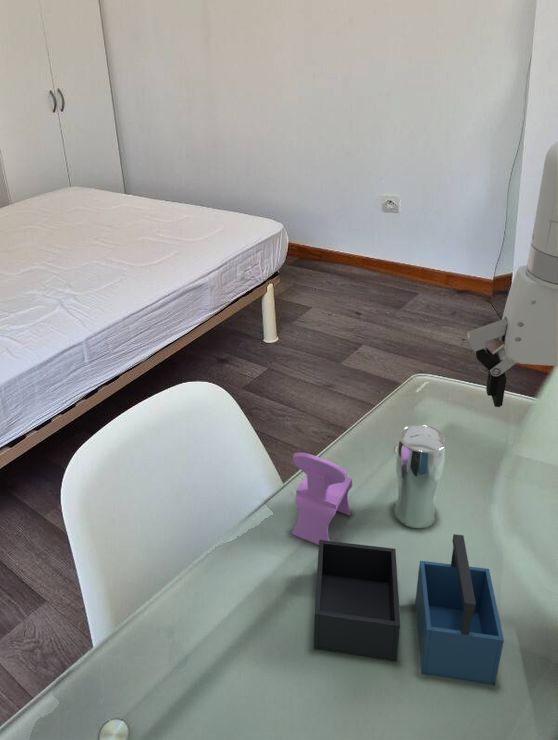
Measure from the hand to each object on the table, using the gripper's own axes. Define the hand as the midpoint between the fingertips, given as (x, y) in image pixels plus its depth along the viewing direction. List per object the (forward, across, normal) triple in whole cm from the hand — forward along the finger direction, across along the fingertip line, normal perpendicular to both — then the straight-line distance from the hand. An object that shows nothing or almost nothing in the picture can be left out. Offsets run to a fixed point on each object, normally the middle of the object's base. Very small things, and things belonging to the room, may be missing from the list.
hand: (542, 403), depth 77 cm
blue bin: (+33, +7, +6) cm, 35 cm away
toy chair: (+34, +24, -12) cm, 43 cm away
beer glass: (+34, +10, -16) cm, 38 cm away
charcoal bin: (+33, +19, +4) cm, 39 cm away
